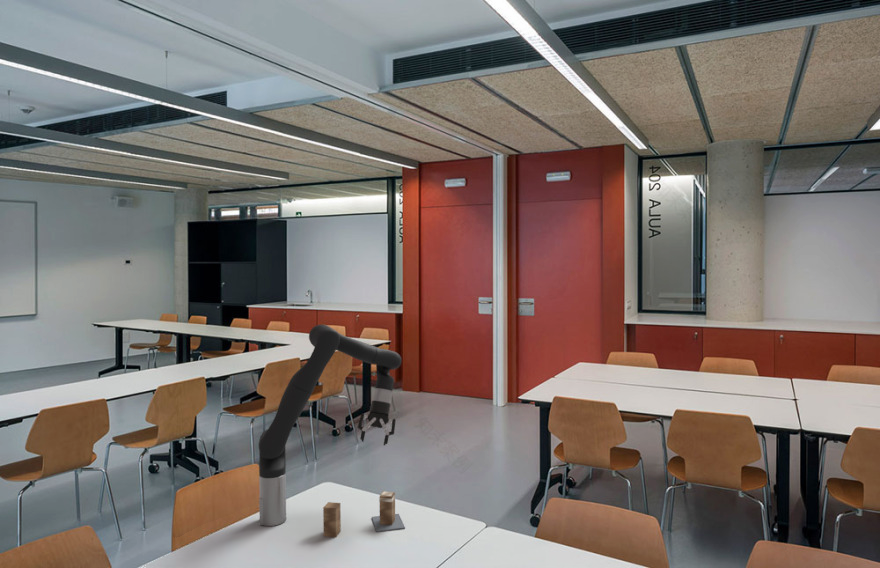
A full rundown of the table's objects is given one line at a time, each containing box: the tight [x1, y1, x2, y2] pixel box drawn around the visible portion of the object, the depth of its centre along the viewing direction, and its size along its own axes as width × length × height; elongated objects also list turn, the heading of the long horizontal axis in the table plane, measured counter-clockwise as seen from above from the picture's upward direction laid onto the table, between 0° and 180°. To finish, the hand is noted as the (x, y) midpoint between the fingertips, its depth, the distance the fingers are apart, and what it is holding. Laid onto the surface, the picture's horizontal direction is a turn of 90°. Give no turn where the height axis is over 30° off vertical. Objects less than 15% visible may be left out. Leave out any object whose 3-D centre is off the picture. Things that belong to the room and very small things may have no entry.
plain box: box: [322, 501, 342, 538], centre depth 199 cm, size 4×4×10 cm
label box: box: [378, 491, 396, 525], centre depth 208 cm, size 5×5×10 cm
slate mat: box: [371, 513, 406, 533], centre depth 208 cm, size 10×12×1 cm
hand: (373, 443), depth 223 cm, fingers open, 8 cm apart
